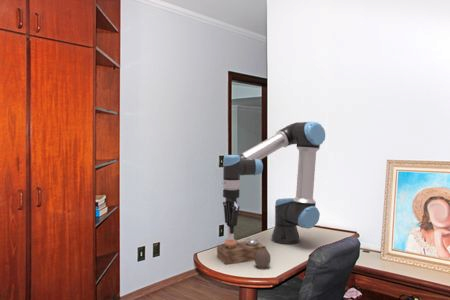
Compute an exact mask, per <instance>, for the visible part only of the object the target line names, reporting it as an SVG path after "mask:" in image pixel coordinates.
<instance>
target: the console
mask: <svg viewBox="0 0 450 300" xmlns="http://www.w3.org/2000/svg"><path fill="white" fill-rule="evenodd" d="M261 246H264V247H266V245H264V244H262V243H260V242H258V245H257V246H248V245H246V241H240V242H237V245H236V246H234V247H233V248H228V246H225V243H222V244H217V247H216V248H217V249H216V252H217V253H216V258H217V259H218V260H219V261H220V262H222V263H223V264H224V265H227V266H229V265H233V264H240V263H246V262H253V261H254V262H255V254H256V252H257V251H258V250H259V248H260V247H261Z"/></svg>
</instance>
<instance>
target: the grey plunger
mask: <svg viewBox="0 0 450 300" xmlns="http://www.w3.org/2000/svg"><path fill="white" fill-rule="evenodd" d="M258 241H259V240H258V239H256V238H246V239H245V242H246V245H248V246H257V245H258Z"/></svg>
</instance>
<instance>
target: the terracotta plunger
mask: <svg viewBox="0 0 450 300" xmlns="http://www.w3.org/2000/svg"><path fill="white" fill-rule="evenodd" d="M237 243H238V240H237V239H235V238H234V240H231V241H228V240H227V238H226V239H224V244H225V246H228V248H233V247H234V246H236V245H237Z"/></svg>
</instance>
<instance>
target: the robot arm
mask: <svg viewBox="0 0 450 300" xmlns="http://www.w3.org/2000/svg"><path fill="white" fill-rule="evenodd" d="M325 140H326V131H325V128H324V127H323V125H322V124H321V123H320V122H316V121H304V122H303V121H302V122H293V123H291V124H288V125H286V126H285V127H283V128H281V129H279V130H278V131H276V133H275V134H274V135H272V136H271V137H269V138H267V139H265V140H263V141H261V142H259V143H257V145H254V146H253V147H251V148H249V149H247V150H246V151H245V150H244V152H242V153H240V154H227V155H224V157H223V164H222V166H223V167H222V168H223V174H222V175H223V182H222V184H223V185H222V187H223V189H222V197H223V198H225V201H223V202H222V205H223V213H224V222H225V224H226V226H227V227H226V229H227V230H226V239H227V240H228V241H231V240H234V239H235V233H234V232H235V227H236V226H237V225H238V218H239V212H240V206H239V205H238V201H237V199H239V198H240V186H241V179H240V178H241V176H257V175H261V174H262V173H263V169H264V164H263V162H262V159H264V158H266V157H267V156H269V155H271V154H273V153H274V152H276V151H278V150H280V149H282V148H288V147H289V146H293V145H296V149H297V150H298V164H297V175H296V176H297V177H296V191H295V197H293V198H291V197H290V198H287V197H286V198H279V199H276V200H275V205H274V207H275V208H274V211H275V212H274V217H275V218H274V228H273V231H272V234H271V241H272V242H275V243H277V244H283V245H295V244H298V243H299V242H300V234H299V231H298V227H300V228H302V229H307V230H309V229H312V228H313V227H315V226H316V225H317V224H318V222H319V220H320V216H321V215H320V211H319V209H318V208H317V207H316V205H317V204H316V201H315V199H314V187H315V177H316V176H315V174H316V173H315V171H316V163H317V162H316V159H317V152H318V151H319V150H320V147H321V145H322V144H323V143H324V142H325Z"/></svg>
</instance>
